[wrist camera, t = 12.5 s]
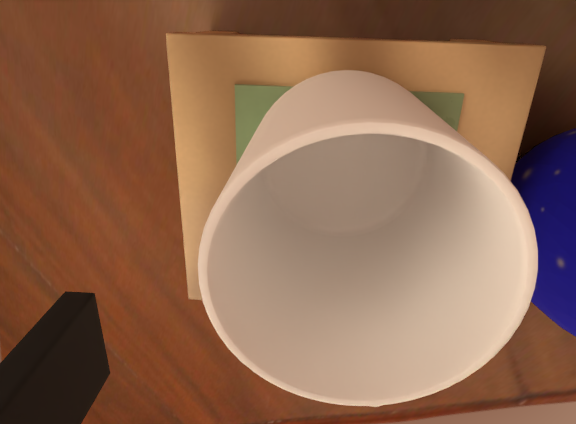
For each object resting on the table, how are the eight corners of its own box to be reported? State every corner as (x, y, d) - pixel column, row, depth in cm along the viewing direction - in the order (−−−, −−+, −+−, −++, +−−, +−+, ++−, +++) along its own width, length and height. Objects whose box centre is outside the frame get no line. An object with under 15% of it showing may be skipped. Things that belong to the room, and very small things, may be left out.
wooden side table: (217, 237, 31) (187, 301, 24) (207, 28, 25) (163, 33, 18) (439, 250, 30) (475, 321, 23) (483, 37, 24) (550, 46, 17)
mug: (437, 289, 22) (520, 485, 13) (283, 304, 23) (259, 494, 14) (430, 51, 18) (556, 91, 8) (237, 83, 19) (154, 151, 9)
